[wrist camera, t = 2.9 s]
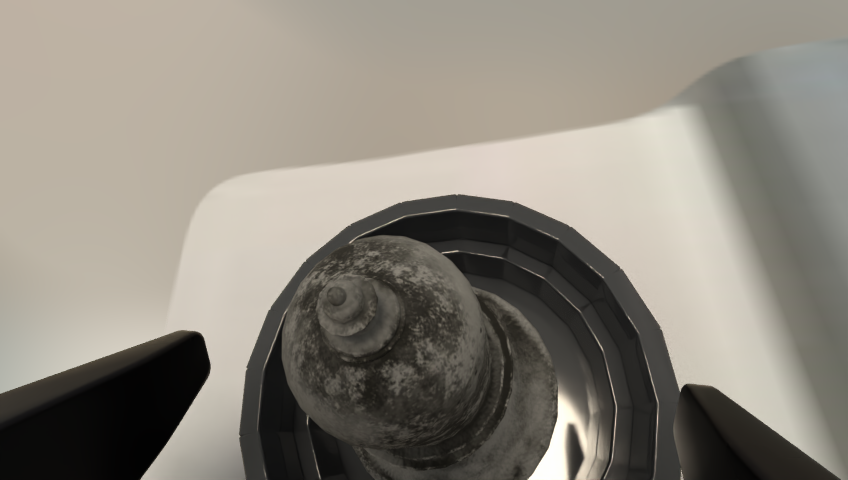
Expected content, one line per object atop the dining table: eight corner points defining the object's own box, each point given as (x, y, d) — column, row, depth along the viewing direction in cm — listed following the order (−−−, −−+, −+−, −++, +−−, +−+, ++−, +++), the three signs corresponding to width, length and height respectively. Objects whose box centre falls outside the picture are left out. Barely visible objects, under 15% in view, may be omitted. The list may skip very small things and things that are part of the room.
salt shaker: (397, 519, 14) (15, 780, 3) (362, 340, 17) (88, 154, 6) (577, 468, 14) (823, 570, 3) (513, 294, 16) (517, 9, 6)
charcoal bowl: (617, 664, 12) (672, 779, 8) (262, 529, 15) (169, 561, 11) (644, 278, 16) (689, 223, 12) (361, 231, 19) (321, 175, 15)
